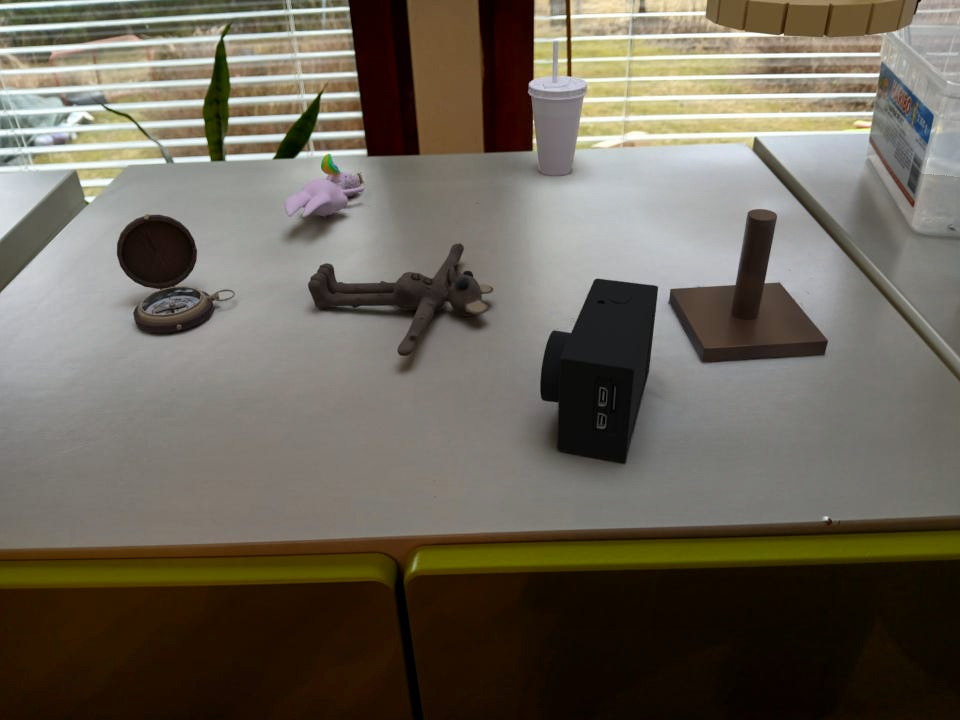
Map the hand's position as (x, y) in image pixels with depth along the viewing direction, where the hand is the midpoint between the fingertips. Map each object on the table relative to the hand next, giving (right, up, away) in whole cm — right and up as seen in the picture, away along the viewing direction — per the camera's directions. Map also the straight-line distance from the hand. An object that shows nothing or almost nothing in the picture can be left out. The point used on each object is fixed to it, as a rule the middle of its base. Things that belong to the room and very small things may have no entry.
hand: (885, 11), depth 70 cm
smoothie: (-27, -9, +21) cm, 35 cm away
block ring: (-7, -1, 0) cm, 7 cm away
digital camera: (-28, -34, -17) cm, 47 cm away
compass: (-60, -27, -4) cm, 66 cm away
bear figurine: (-42, -27, -5) cm, 50 cm away
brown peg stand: (-16, -28, -9) cm, 34 cm away
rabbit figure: (-51, -16, +12) cm, 55 cm away
